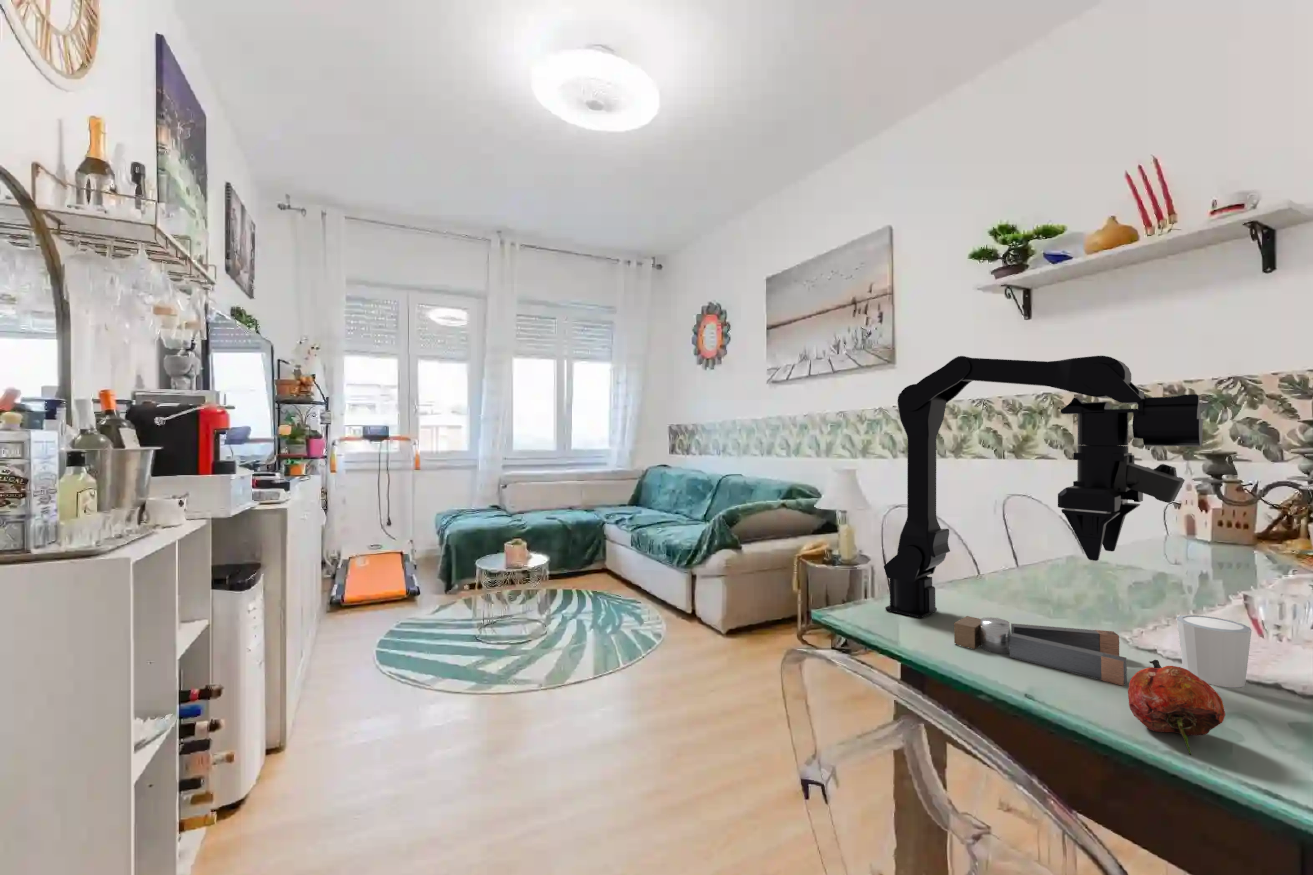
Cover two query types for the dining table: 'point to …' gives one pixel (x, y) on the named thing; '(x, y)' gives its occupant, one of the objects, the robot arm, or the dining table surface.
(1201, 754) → the dining table surface
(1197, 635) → the white cup
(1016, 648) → the frame
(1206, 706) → the wrinkled red fruit
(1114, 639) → the bar
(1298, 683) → the dining table surface
